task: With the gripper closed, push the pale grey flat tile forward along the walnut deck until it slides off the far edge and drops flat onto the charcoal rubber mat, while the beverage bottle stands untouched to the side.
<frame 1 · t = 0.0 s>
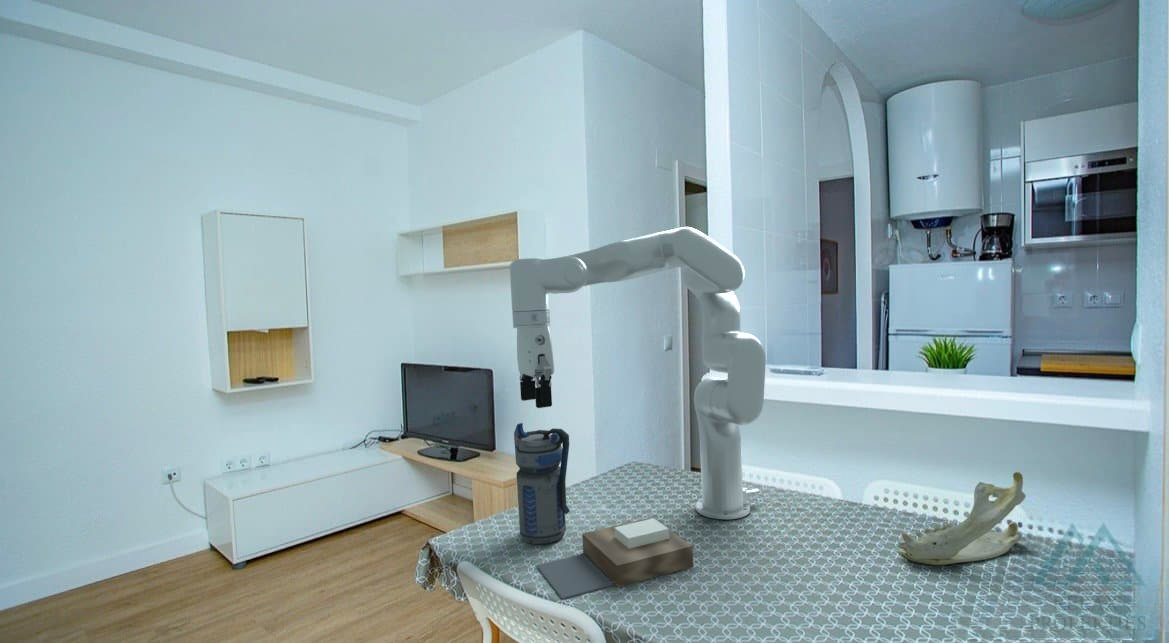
hand: (536, 403, 118), 31 cm above the table, tool pointing down, fingers open, 9 cm apart
mat: (573, 575, 109), on the table
jawbone: (959, 553, 110), on the table
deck: (636, 559, 114), on the table
pale grey flat tile: (641, 537, 115), point 4 cm above the table, touching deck
beverage bottle: (546, 538, 127), on the table
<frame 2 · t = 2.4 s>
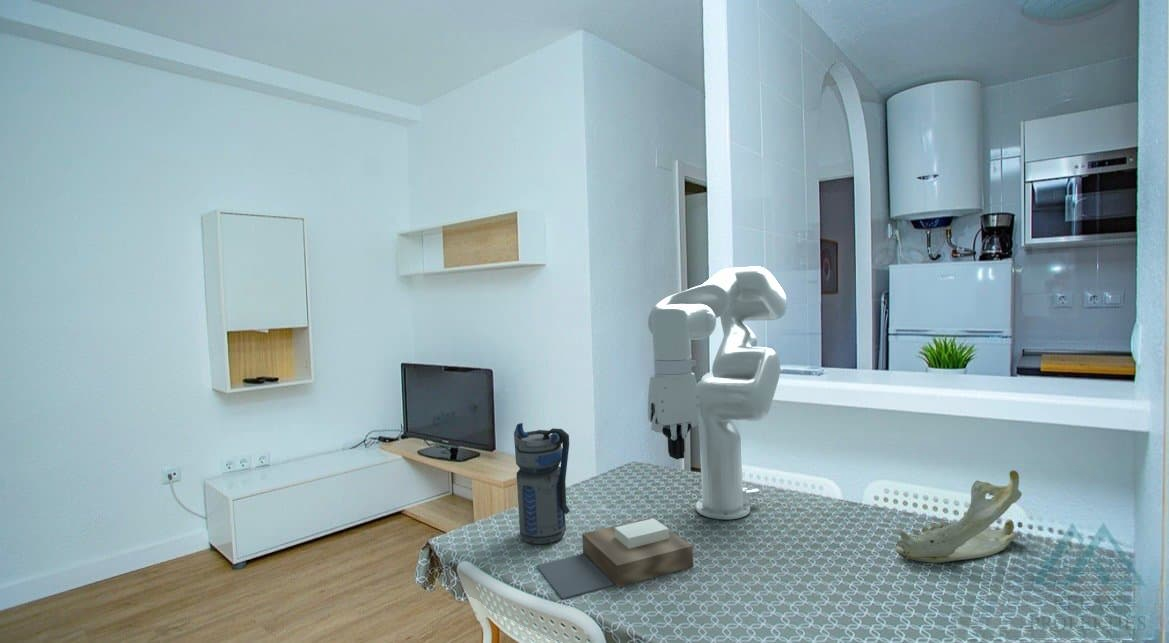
hand: (676, 457, 117), 19 cm above the table, tool pointing down, fingers closed
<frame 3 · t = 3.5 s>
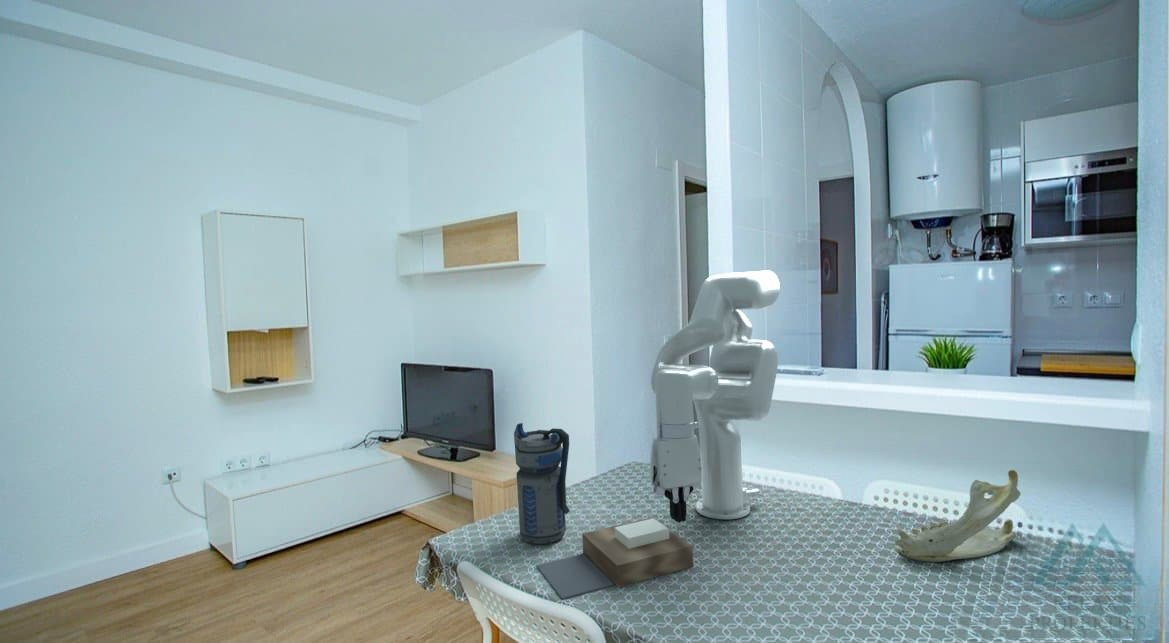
hand: (678, 519, 117), 6 cm above the table, tool pointing down, fingers closed
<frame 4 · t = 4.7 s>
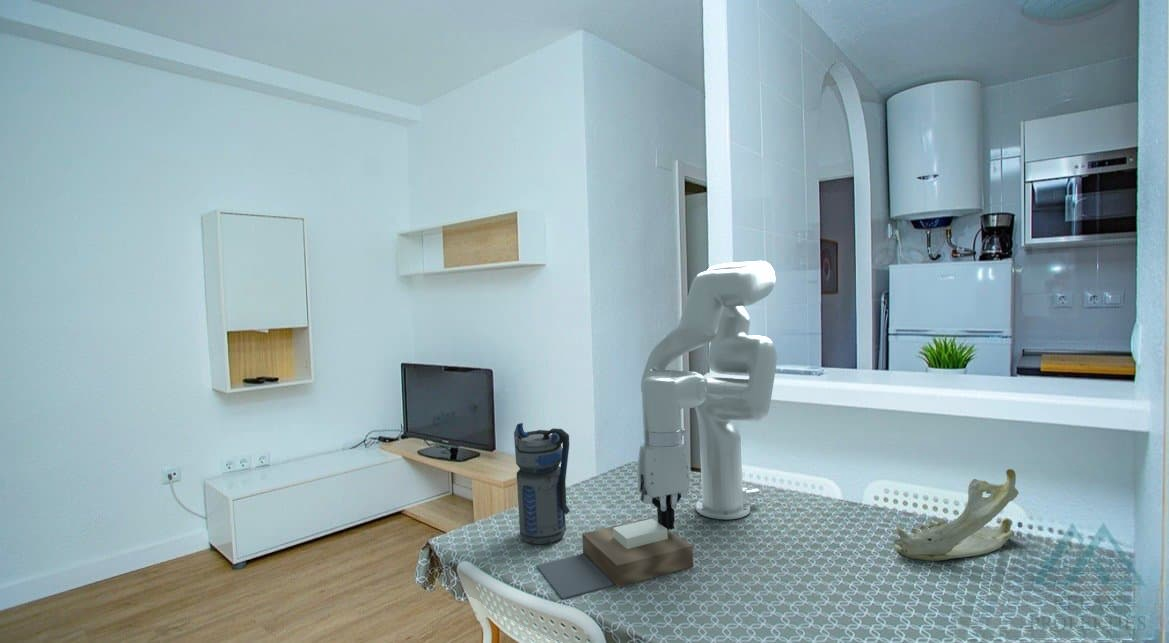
hand: (666, 527, 117), 5 cm above the table, tool pointing down, fingers closed
pale grey flat tile: (640, 538, 114), point 4 cm above the table, touching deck, gripper
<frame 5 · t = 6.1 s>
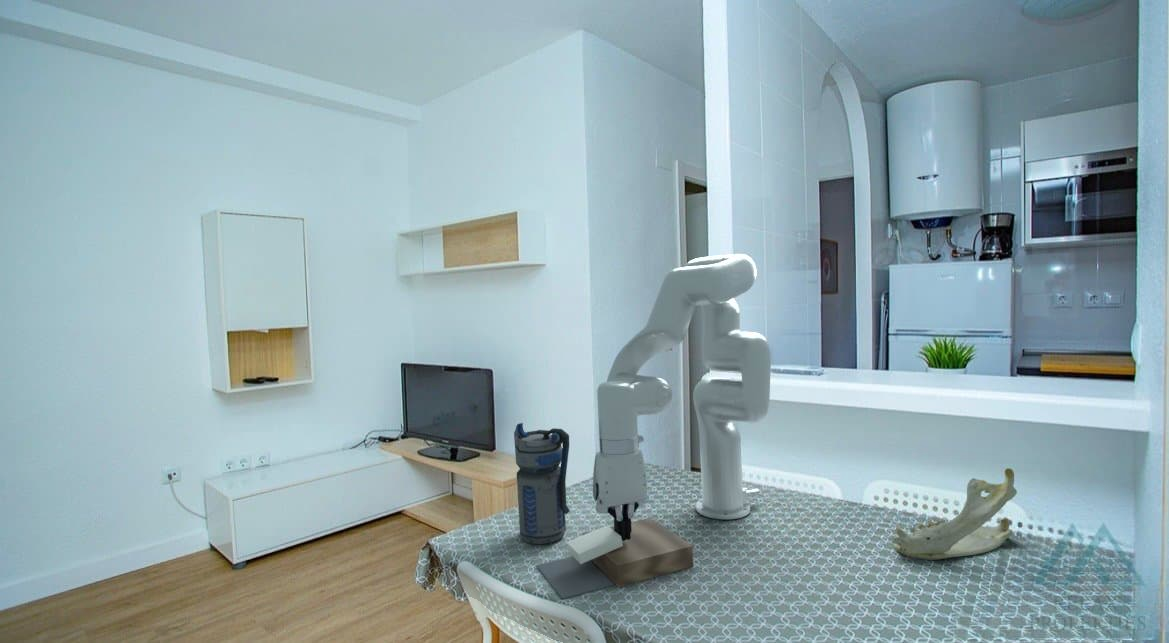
hand: (623, 537, 113), 5 cm above the table, tool pointing down, fingers closed
pale grey flat tile: (595, 548, 111), point 4 cm above the table, tilted 9°, touching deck, gripper
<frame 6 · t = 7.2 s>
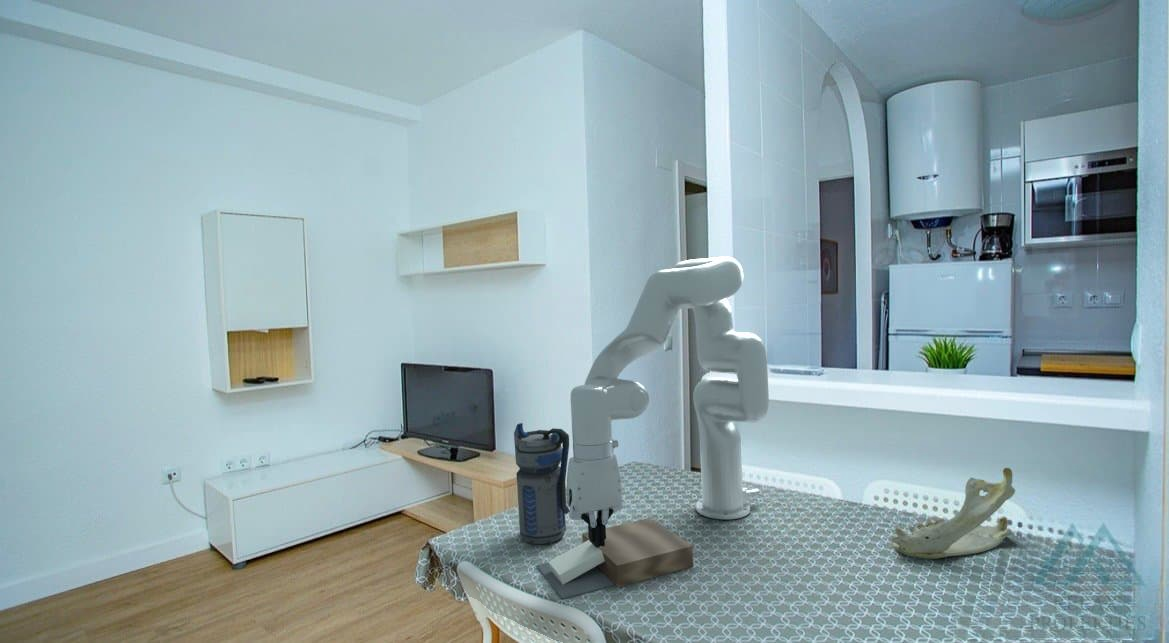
hand: (597, 544, 111), 5 cm above the table, tool pointing down, fingers closed
pale grey flat tile: (577, 566, 109), point 1 cm above the table, tilted 15°, touching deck, mat
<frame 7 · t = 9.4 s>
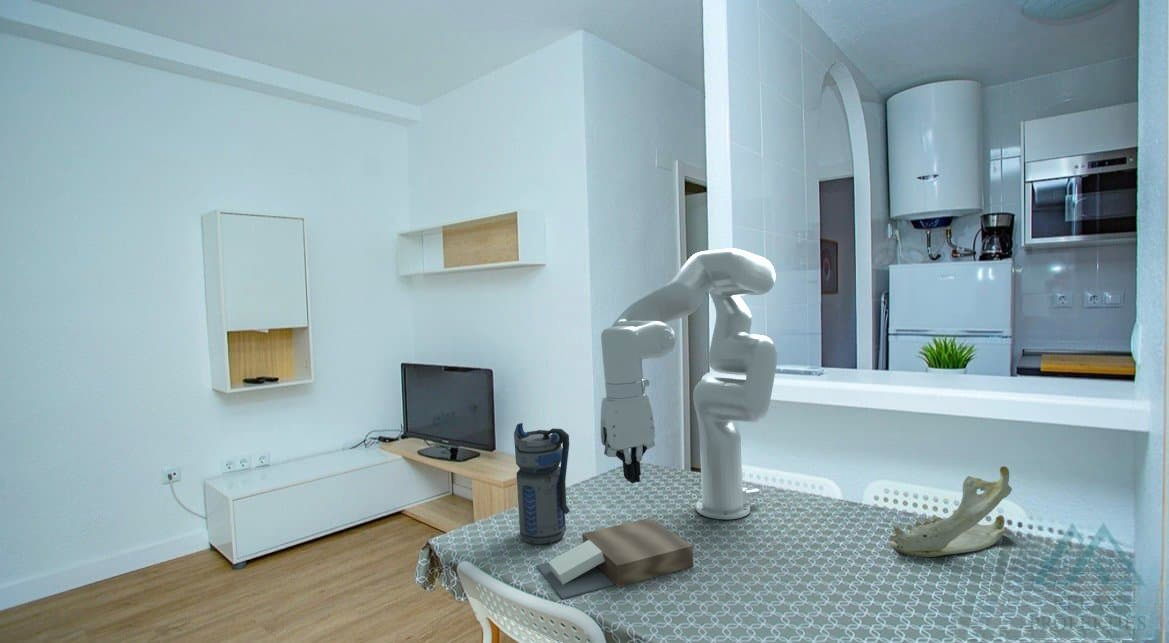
hand: (632, 480, 114), 16 cm above the table, tool pointing down, fingers closed
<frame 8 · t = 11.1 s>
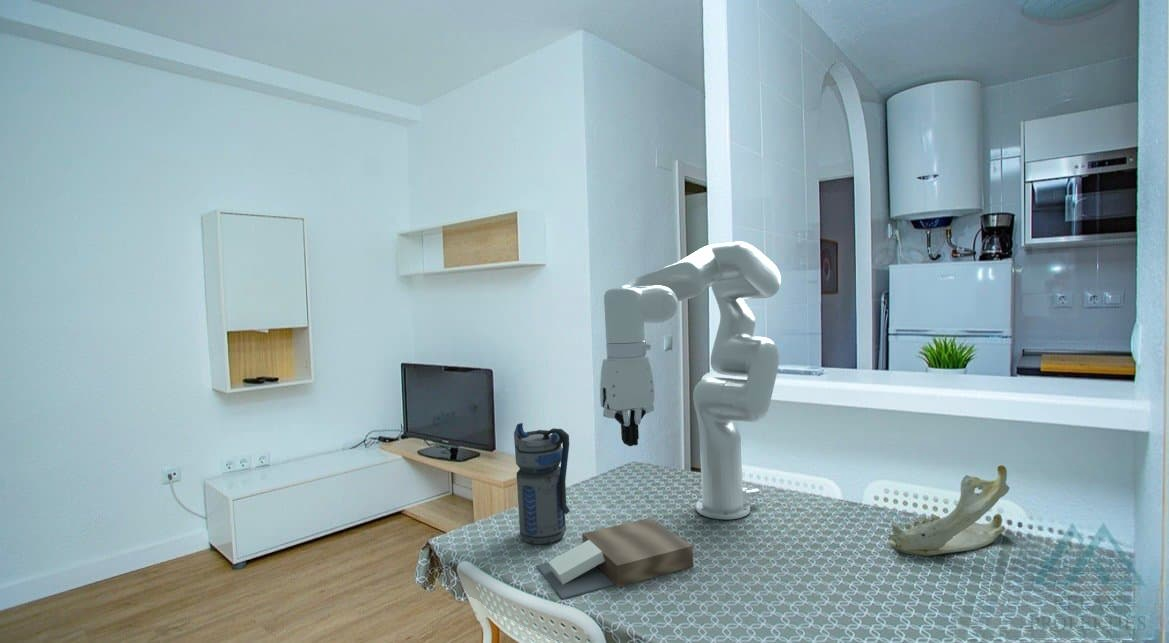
hand: (630, 444, 113), 23 cm above the table, tool pointing down, fingers closed
at the end: pale grey flat tile point 1.5 cm above the table; pale grey flat tile inside the target area on the mat (1.1 cm from its centre), point 1.5 cm above the mat's base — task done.
